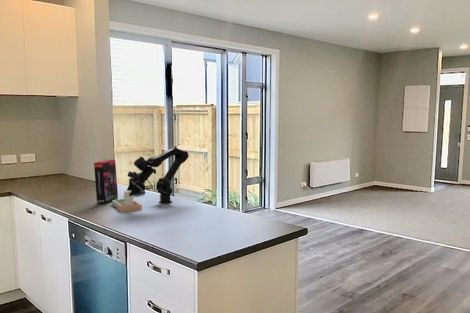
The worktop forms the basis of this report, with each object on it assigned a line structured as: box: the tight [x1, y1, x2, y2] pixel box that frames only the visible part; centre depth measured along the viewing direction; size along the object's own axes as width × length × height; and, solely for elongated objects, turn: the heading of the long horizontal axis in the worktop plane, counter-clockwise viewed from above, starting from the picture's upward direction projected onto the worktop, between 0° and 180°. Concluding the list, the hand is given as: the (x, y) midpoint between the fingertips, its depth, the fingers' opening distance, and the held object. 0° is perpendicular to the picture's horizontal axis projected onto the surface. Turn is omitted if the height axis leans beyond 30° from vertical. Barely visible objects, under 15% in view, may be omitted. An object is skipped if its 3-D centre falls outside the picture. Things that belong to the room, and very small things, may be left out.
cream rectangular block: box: [123, 189, 134, 206], centre depth 243 cm, size 4×6×11 cm
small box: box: [128, 179, 146, 195], centre depth 290 cm, size 11×6×10 cm, turn 112°
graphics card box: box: [93, 159, 119, 205], centre depth 263 cm, size 17×7×27 cm, turn 168°
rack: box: [111, 198, 143, 213], centre depth 248 cm, size 23×12×3 cm, turn 31°
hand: (127, 194), depth 242 cm, fingers open, 9 cm apart
